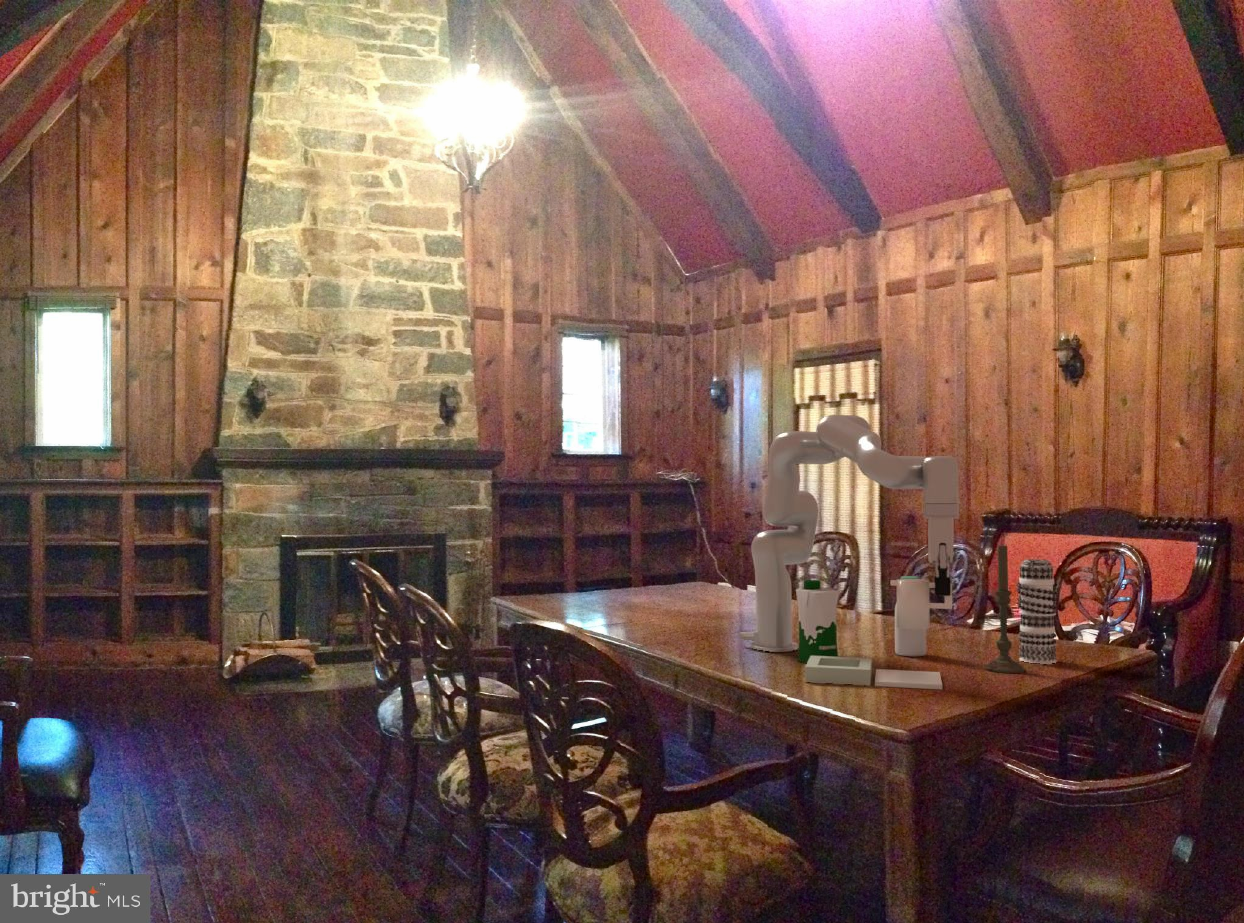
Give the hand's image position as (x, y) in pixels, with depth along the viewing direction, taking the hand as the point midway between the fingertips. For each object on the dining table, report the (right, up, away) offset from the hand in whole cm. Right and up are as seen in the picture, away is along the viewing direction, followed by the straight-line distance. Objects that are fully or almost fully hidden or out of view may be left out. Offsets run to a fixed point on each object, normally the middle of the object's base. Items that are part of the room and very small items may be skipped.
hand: (942, 594), depth 212 cm
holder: (-22, -20, +6) cm, 30 cm away
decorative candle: (+32, -20, +24) cm, 44 cm away
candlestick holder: (+19, -20, +14) cm, 31 cm away
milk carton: (-23, -20, +24) cm, 39 cm away
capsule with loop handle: (-4, -8, +1) cm, 9 cm away
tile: (-7, -20, +2) cm, 21 cm away
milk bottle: (+3, -20, +34) cm, 40 cm away
